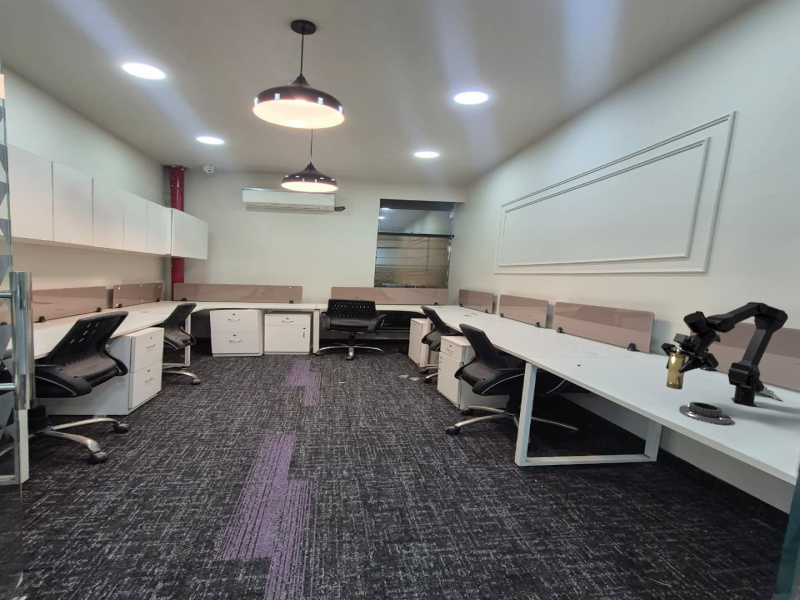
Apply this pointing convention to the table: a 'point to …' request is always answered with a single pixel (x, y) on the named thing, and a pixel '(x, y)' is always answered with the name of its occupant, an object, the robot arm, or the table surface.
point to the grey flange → (705, 413)
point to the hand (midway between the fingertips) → (673, 370)
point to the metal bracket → (769, 393)
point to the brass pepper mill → (675, 370)
